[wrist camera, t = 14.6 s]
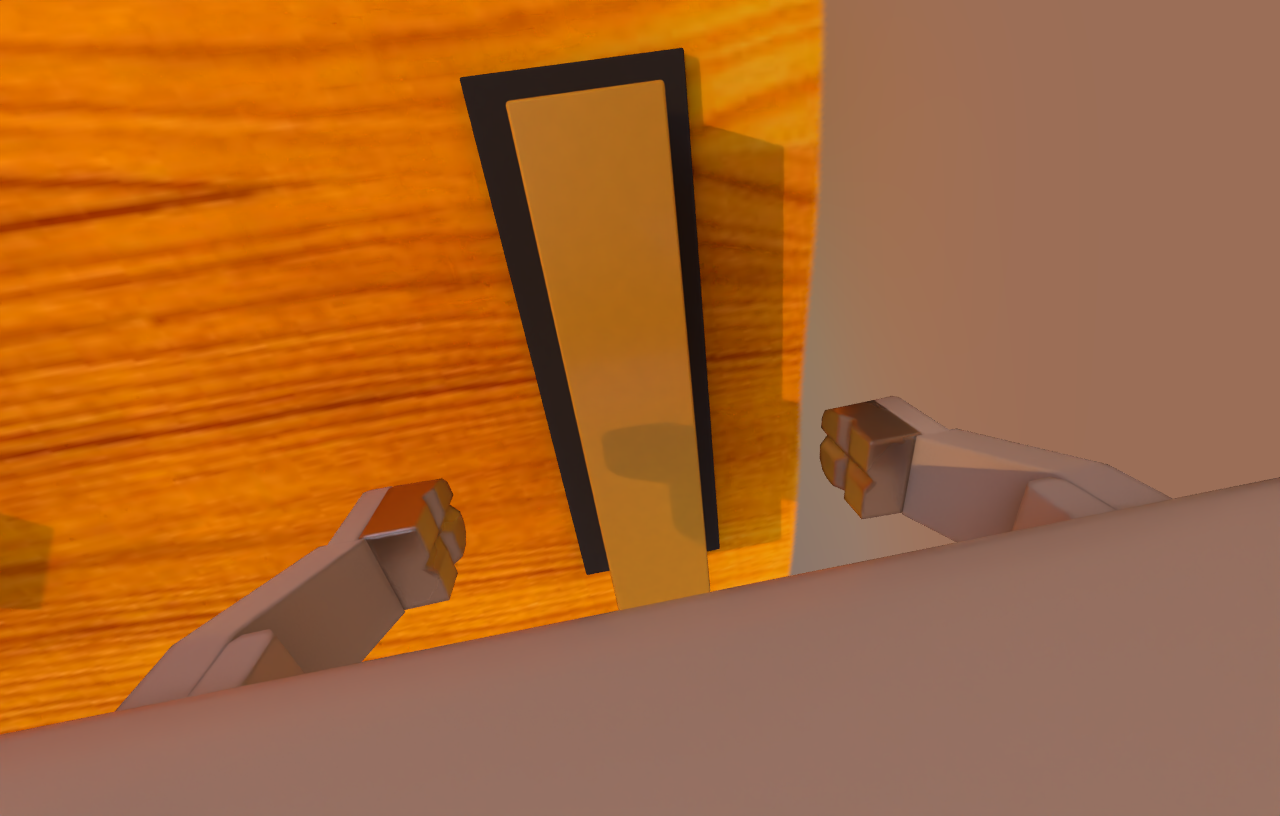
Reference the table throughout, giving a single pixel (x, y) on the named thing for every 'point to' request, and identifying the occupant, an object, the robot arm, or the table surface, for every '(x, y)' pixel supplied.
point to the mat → (527, 275)
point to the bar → (620, 323)
